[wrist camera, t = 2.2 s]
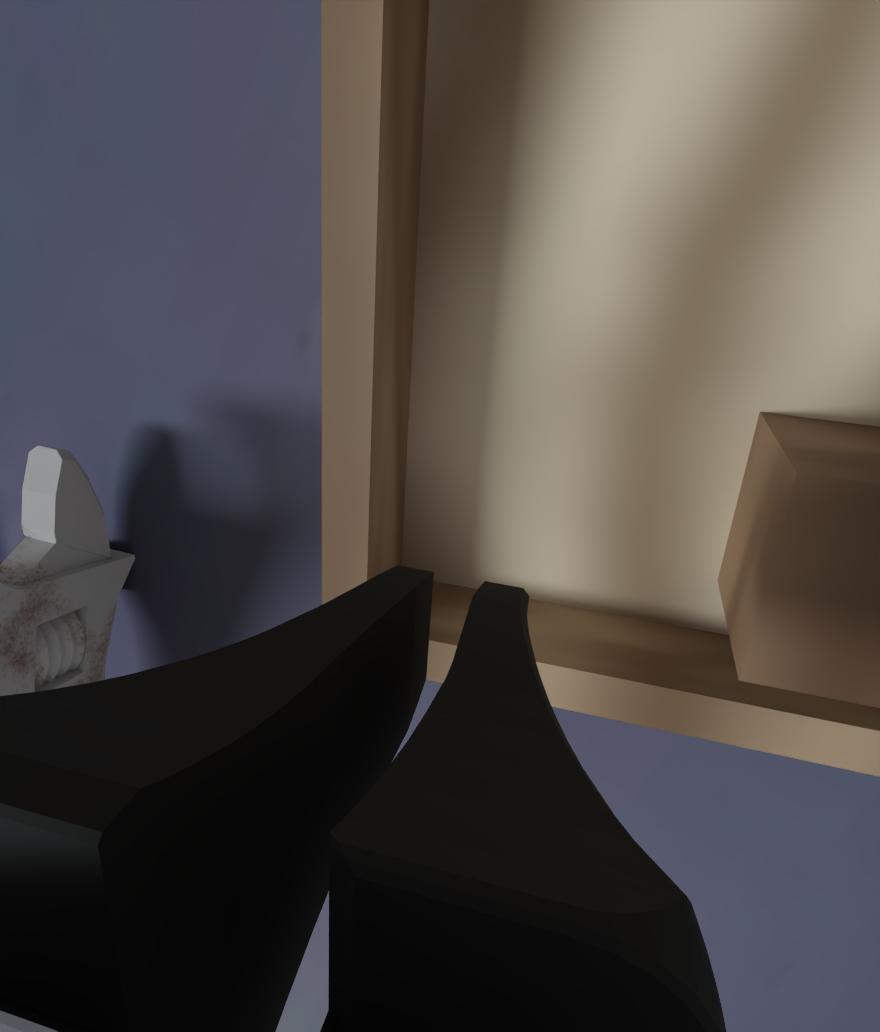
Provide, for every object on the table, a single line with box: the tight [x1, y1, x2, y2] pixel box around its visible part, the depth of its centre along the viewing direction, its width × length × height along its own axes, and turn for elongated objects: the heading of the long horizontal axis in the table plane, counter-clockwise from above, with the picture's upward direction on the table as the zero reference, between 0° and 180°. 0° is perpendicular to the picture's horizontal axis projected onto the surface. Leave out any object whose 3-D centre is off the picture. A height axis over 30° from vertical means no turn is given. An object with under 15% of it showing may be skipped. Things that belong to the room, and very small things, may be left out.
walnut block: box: [717, 412, 880, 708], centre depth 15 cm, size 4×4×4 cm
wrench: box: [0, 446, 135, 696], centre depth 26 cm, size 8×2×30 cm
